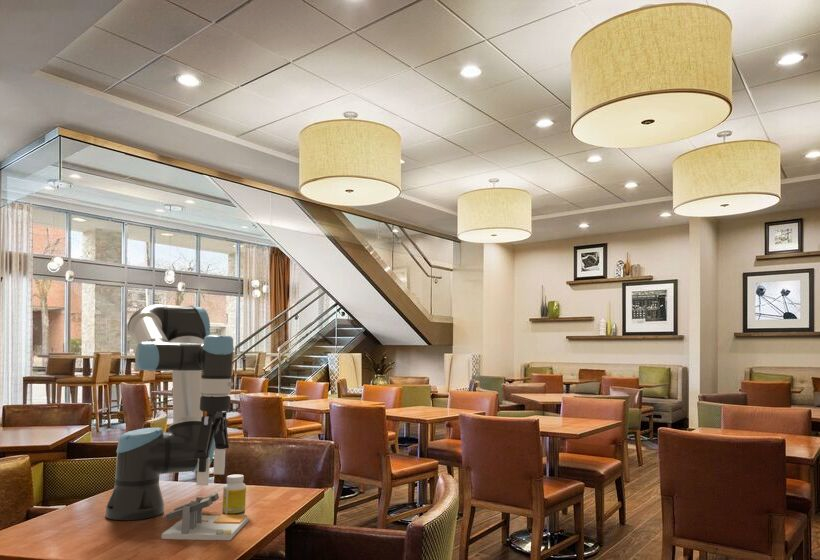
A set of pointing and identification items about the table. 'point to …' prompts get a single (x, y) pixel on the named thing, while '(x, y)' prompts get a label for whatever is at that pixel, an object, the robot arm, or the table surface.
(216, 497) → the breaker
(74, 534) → the table surface
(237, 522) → the breaker panel
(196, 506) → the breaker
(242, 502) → the pill bottle
